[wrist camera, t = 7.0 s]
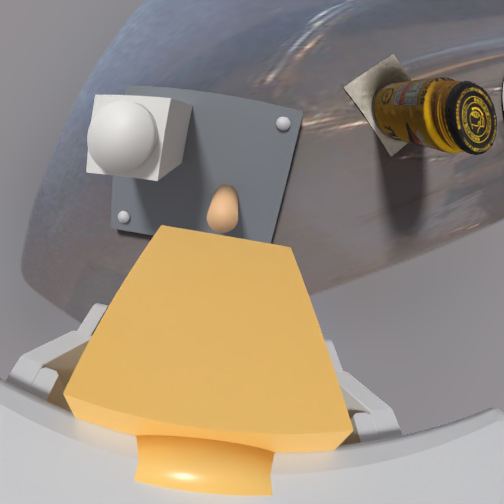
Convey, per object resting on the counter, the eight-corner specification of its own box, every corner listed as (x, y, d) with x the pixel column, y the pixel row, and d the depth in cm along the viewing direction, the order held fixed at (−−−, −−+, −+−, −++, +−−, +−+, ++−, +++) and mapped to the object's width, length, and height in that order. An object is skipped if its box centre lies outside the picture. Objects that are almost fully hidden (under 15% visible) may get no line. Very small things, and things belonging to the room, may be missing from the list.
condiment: (390, 156, 25) (468, 185, 14) (343, 87, 22) (412, 71, 11) (433, 121, 23) (515, 135, 13) (391, 54, 20) (469, 33, 10)
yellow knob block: (290, 247, 11) (366, 474, 3) (261, 341, 14) (279, 523, 5) (161, 225, 11) (44, 438, 3) (156, 325, 13) (108, 504, 5)
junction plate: (300, 112, 23) (337, 106, 14) (266, 249, 29) (279, 311, 20) (130, 86, 21) (74, 73, 12) (115, 223, 27) (67, 272, 18)
